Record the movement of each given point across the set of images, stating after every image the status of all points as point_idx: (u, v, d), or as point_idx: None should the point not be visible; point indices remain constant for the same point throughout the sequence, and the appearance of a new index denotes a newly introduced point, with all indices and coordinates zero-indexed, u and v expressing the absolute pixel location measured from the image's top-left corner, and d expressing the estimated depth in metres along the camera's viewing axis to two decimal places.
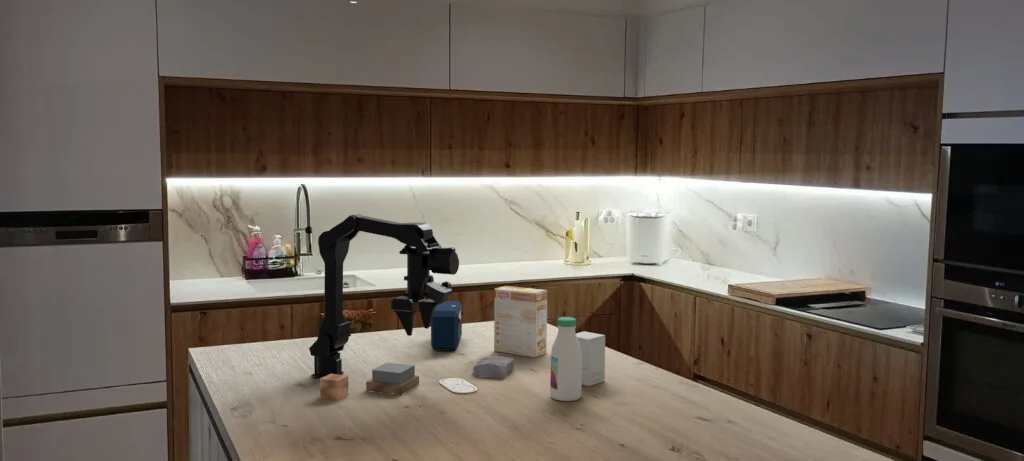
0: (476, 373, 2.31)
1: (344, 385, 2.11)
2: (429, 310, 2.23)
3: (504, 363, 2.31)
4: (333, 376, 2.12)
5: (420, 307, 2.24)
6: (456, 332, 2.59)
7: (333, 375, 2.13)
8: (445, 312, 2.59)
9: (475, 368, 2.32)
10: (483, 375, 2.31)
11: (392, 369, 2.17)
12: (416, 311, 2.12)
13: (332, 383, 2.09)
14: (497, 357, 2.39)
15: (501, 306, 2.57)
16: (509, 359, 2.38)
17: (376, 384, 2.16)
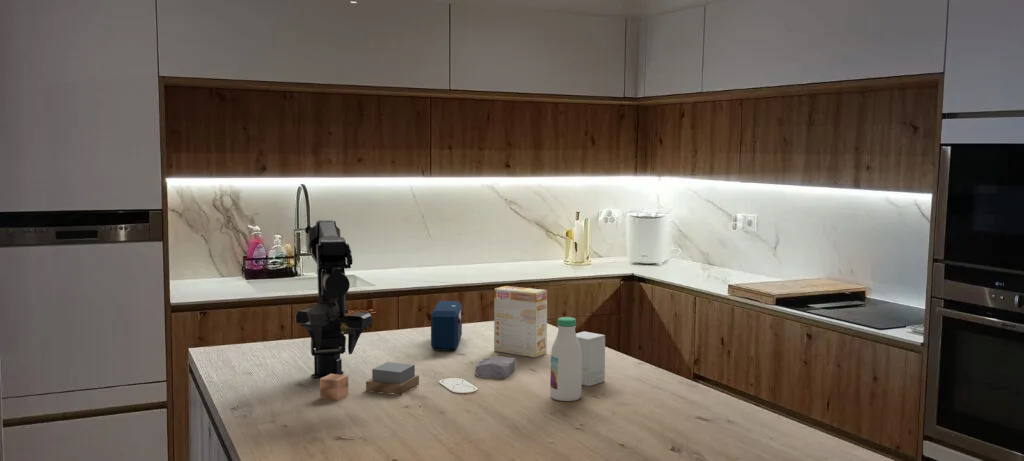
0: (478, 373, 2.31)
1: (344, 385, 2.11)
2: None
3: (506, 363, 2.31)
4: (333, 376, 2.12)
5: None
6: (456, 332, 2.59)
7: (333, 375, 2.13)
8: (445, 312, 2.59)
9: (477, 368, 2.32)
10: (485, 375, 2.31)
11: (392, 368, 2.18)
12: (304, 325, 2.10)
13: (332, 383, 2.09)
14: (499, 357, 2.39)
15: (501, 306, 2.57)
16: (511, 359, 2.38)
17: (376, 384, 2.16)
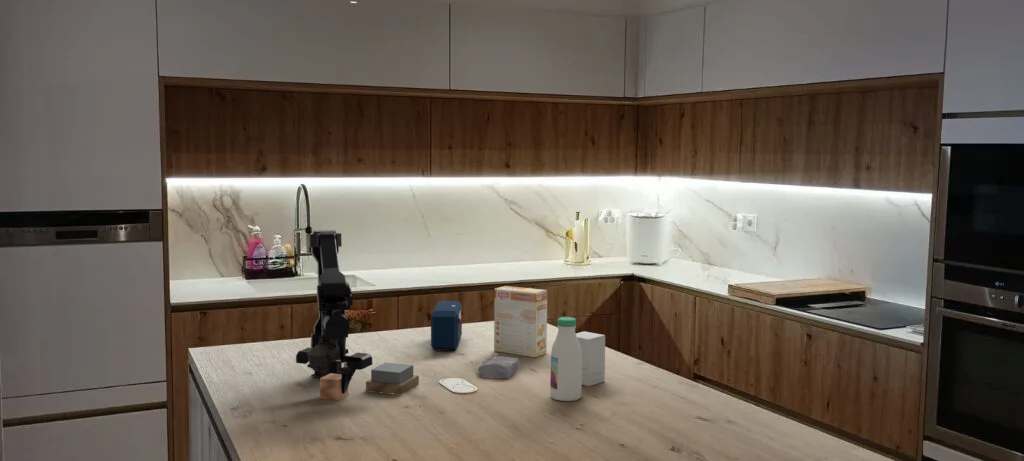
0: (481, 373, 2.31)
1: None
2: None
3: (509, 363, 2.31)
4: (333, 376, 2.12)
5: None
6: (456, 332, 2.59)
7: (333, 375, 2.13)
8: (445, 312, 2.59)
9: (480, 368, 2.31)
10: (488, 375, 2.30)
11: (391, 369, 2.17)
12: (312, 366, 2.10)
13: (332, 382, 2.09)
14: (502, 357, 2.39)
15: (501, 306, 2.57)
16: (514, 359, 2.37)
17: (376, 384, 2.16)
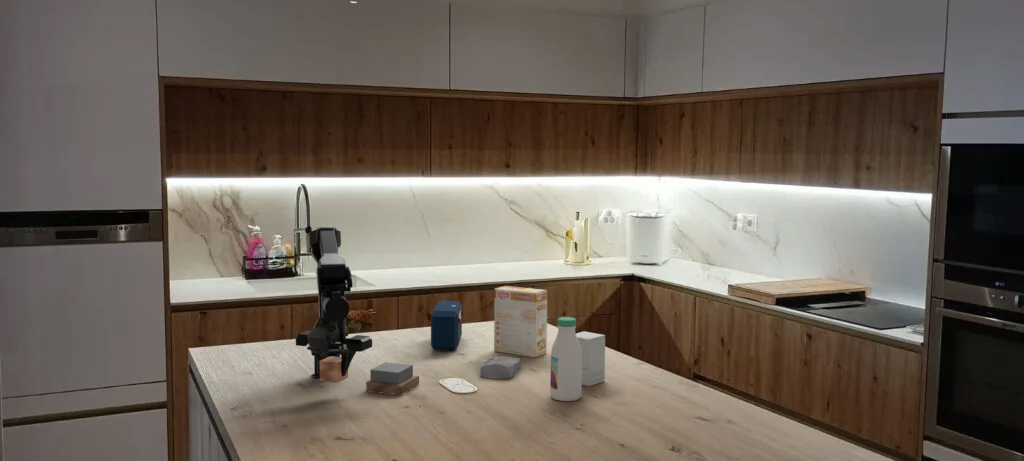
0: (483, 374, 2.31)
1: None
2: None
3: (511, 363, 2.31)
4: (333, 359, 2.11)
5: None
6: (456, 332, 2.59)
7: (333, 357, 2.12)
8: (445, 312, 2.59)
9: (482, 369, 2.31)
10: (490, 376, 2.30)
11: (390, 369, 2.17)
12: (311, 349, 2.09)
13: (332, 365, 2.08)
14: (503, 357, 2.39)
15: (501, 306, 2.57)
16: (515, 359, 2.37)
17: (376, 384, 2.16)
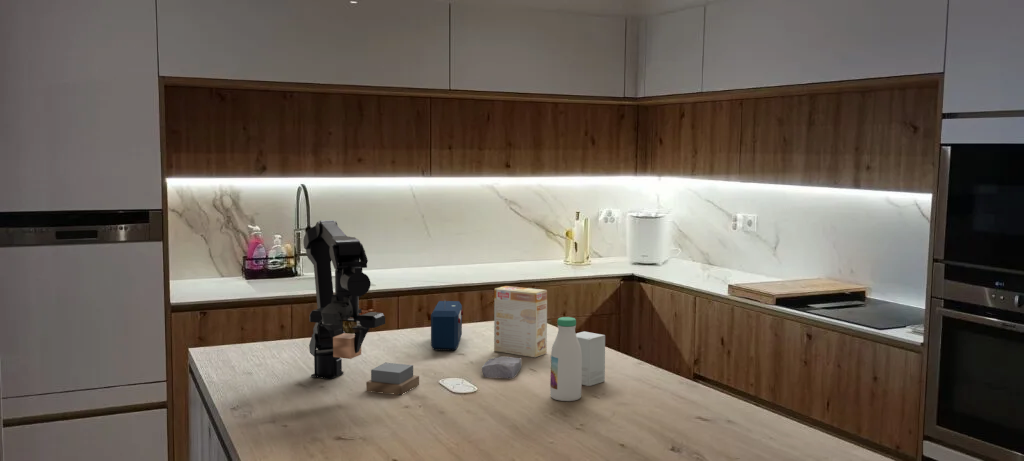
0: (484, 374, 2.31)
1: None
2: None
3: (512, 364, 2.31)
4: (346, 335, 2.12)
5: None
6: (456, 332, 2.59)
7: (346, 334, 2.14)
8: (445, 312, 2.59)
9: (483, 369, 2.31)
10: (491, 376, 2.30)
11: (391, 369, 2.17)
12: (325, 325, 2.11)
13: (345, 341, 2.09)
14: (505, 357, 2.39)
15: (501, 306, 2.57)
16: (517, 359, 2.37)
17: (376, 384, 2.16)
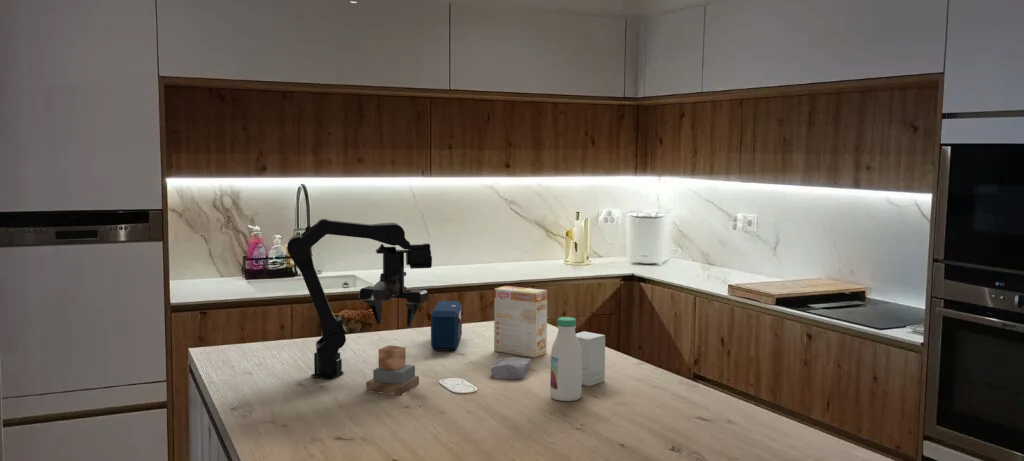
0: (494, 374, 2.30)
1: (401, 356, 2.19)
2: None
3: (522, 364, 2.30)
4: (391, 348, 2.19)
5: None
6: (456, 332, 2.59)
7: (391, 346, 2.20)
8: (445, 312, 2.59)
9: (493, 369, 2.31)
10: (501, 376, 2.30)
11: None
12: (367, 301, 2.33)
13: (390, 353, 2.16)
14: (514, 358, 2.38)
15: (501, 306, 2.57)
16: (526, 360, 2.37)
17: (376, 384, 2.15)
